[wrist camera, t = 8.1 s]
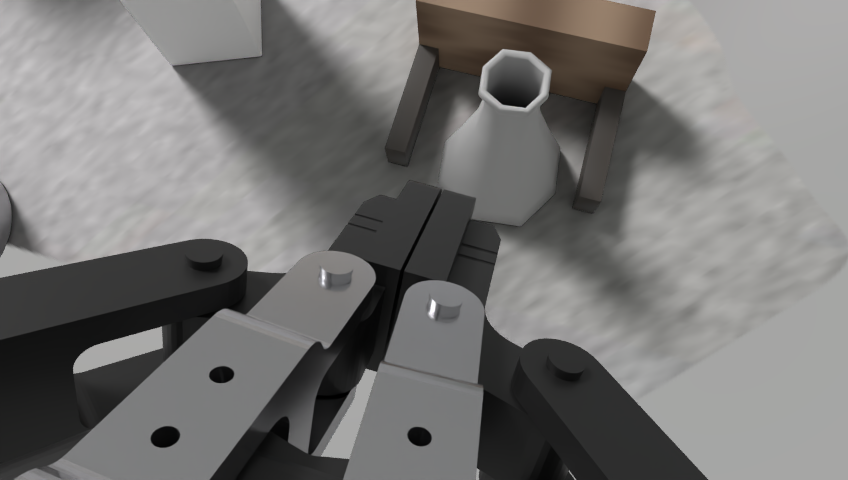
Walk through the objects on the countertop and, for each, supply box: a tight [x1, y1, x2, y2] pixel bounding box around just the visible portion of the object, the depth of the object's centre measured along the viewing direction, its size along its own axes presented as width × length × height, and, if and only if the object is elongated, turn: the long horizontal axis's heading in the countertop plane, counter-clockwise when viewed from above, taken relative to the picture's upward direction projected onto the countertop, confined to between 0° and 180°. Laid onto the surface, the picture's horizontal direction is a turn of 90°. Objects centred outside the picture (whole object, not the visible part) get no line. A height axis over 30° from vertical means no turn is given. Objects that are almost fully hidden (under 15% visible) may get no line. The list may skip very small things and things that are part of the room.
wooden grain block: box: [385, 0, 656, 213], centre depth 35 cm, size 12×10×6 cm
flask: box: [437, 49, 560, 226], centre depth 32 cm, size 7×7×10 cm
